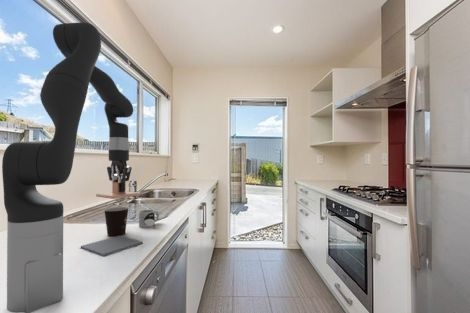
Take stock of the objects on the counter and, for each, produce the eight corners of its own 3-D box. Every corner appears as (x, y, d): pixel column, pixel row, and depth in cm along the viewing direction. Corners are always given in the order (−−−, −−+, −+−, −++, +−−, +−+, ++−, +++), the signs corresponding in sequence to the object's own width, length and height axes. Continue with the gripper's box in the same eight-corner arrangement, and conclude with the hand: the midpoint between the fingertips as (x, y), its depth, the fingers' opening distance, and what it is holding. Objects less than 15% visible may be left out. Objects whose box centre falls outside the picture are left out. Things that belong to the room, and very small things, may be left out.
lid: (141, 195, 103) (141, 181, 103) (113, 199, 93) (113, 184, 93) (123, 193, 110) (123, 180, 110) (96, 196, 100) (96, 182, 100)
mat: (142, 243, 88) (142, 241, 88) (103, 256, 77) (103, 254, 77) (119, 237, 96) (119, 235, 96) (80, 247, 84) (80, 246, 84)
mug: (145, 228, 108) (145, 213, 108) (135, 226, 111) (135, 211, 111) (163, 223, 116) (163, 209, 116) (153, 221, 120) (153, 207, 120)
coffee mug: (119, 238, 95) (119, 211, 95) (99, 236, 96) (99, 210, 97) (137, 229, 106) (137, 206, 106) (119, 228, 108) (119, 205, 108)
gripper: (100, 149, 102) (100, 191, 102) (120, 148, 95) (120, 194, 95) (117, 149, 109) (117, 189, 109) (137, 149, 101) (137, 191, 101)
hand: (118, 191), depth 102 cm, fingers closed on lid, 3 cm apart
